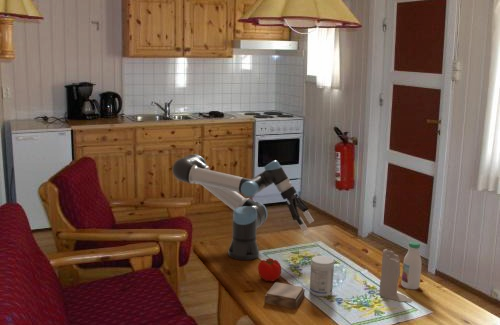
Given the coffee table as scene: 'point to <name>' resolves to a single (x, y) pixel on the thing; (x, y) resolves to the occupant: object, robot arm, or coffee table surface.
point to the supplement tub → (321, 275)
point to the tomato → (269, 269)
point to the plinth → (285, 295)
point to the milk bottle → (412, 267)
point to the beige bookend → (391, 277)
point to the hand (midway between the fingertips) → (308, 226)
